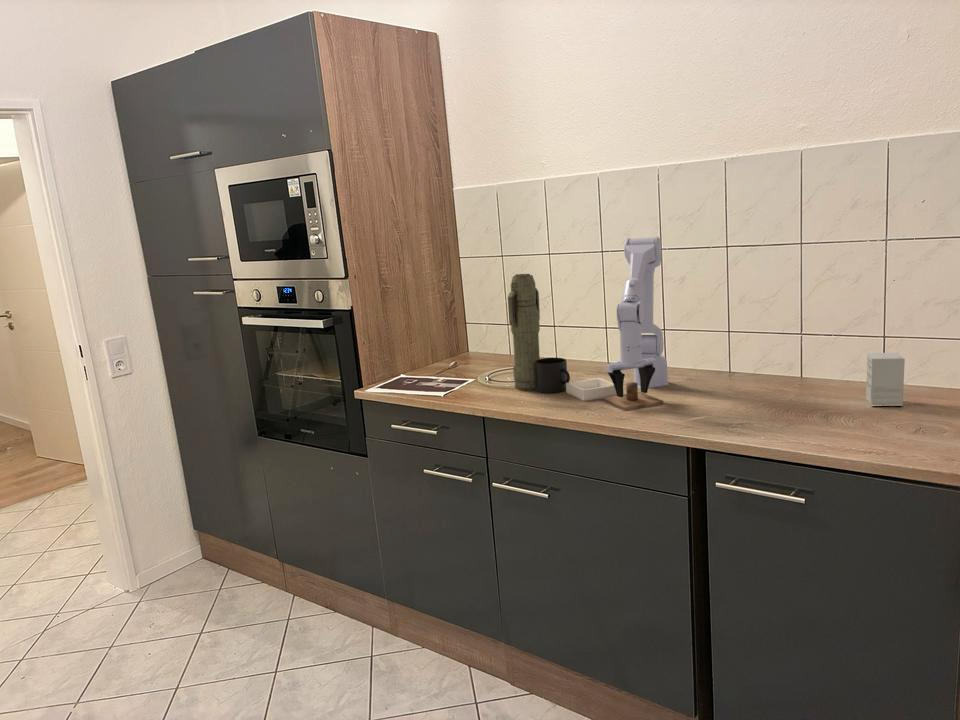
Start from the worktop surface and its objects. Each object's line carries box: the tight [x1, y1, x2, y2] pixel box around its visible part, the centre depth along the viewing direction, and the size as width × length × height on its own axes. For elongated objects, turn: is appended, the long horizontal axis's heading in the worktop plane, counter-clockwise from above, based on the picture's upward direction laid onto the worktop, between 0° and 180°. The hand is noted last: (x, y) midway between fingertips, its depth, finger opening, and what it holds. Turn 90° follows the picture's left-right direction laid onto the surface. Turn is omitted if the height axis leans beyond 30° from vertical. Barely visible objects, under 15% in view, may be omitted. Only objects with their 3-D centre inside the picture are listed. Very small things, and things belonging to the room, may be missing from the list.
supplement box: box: [865, 352, 906, 407], centre depth 186 cm, size 7×7×13 cm
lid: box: [601, 381, 664, 411], centre depth 202 cm, size 12×12×5 cm
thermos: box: [507, 273, 541, 391], centre depth 226 cm, size 9×12×35 cm
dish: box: [565, 377, 617, 402], centre depth 214 cm, size 11×11×4 cm
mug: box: [535, 357, 571, 394], centre depth 222 cm, size 9×12×9 cm
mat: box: [599, 399, 666, 412], centre depth 203 cm, size 13×13×1 cm
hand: (632, 394), depth 202 cm, fingers open, 7 cm apart
